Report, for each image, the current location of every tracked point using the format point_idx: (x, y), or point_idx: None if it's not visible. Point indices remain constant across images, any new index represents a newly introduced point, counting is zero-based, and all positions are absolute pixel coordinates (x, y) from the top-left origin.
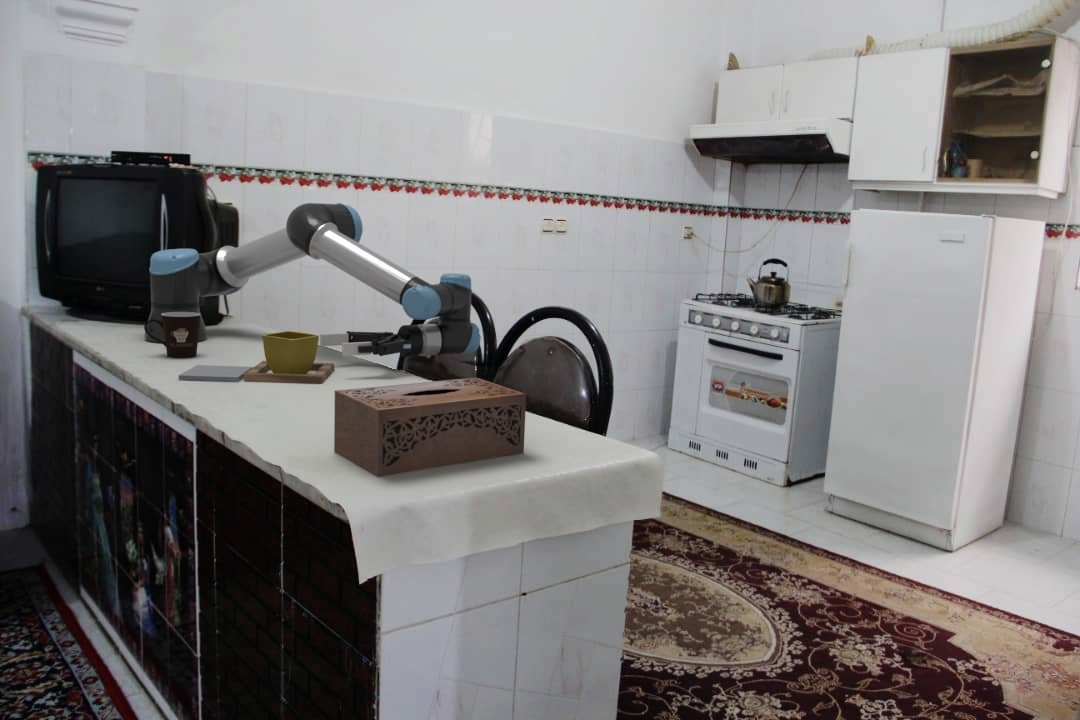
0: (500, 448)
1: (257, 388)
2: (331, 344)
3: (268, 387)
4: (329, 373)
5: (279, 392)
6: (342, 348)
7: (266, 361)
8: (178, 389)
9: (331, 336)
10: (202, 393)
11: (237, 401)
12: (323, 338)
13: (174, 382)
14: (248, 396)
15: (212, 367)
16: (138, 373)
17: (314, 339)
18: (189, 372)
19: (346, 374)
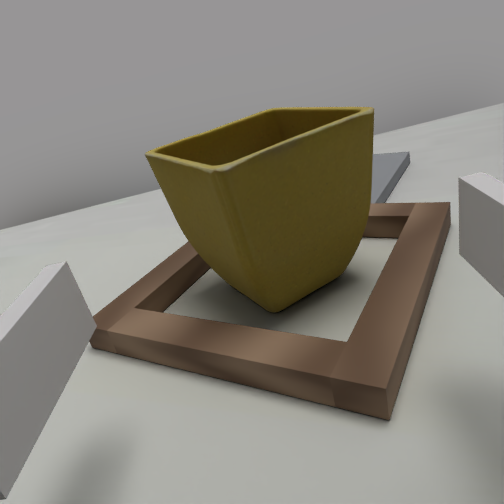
0: None
1: (146, 245)
2: (499, 282)
3: (142, 257)
4: (240, 378)
5: (74, 274)
6: (73, 290)
7: (436, 208)
8: None
9: (498, 221)
10: (159, 203)
11: (62, 237)
12: (467, 210)
13: None
14: (85, 243)
15: (372, 167)
16: None
17: (200, 182)
18: None
19: (226, 463)
